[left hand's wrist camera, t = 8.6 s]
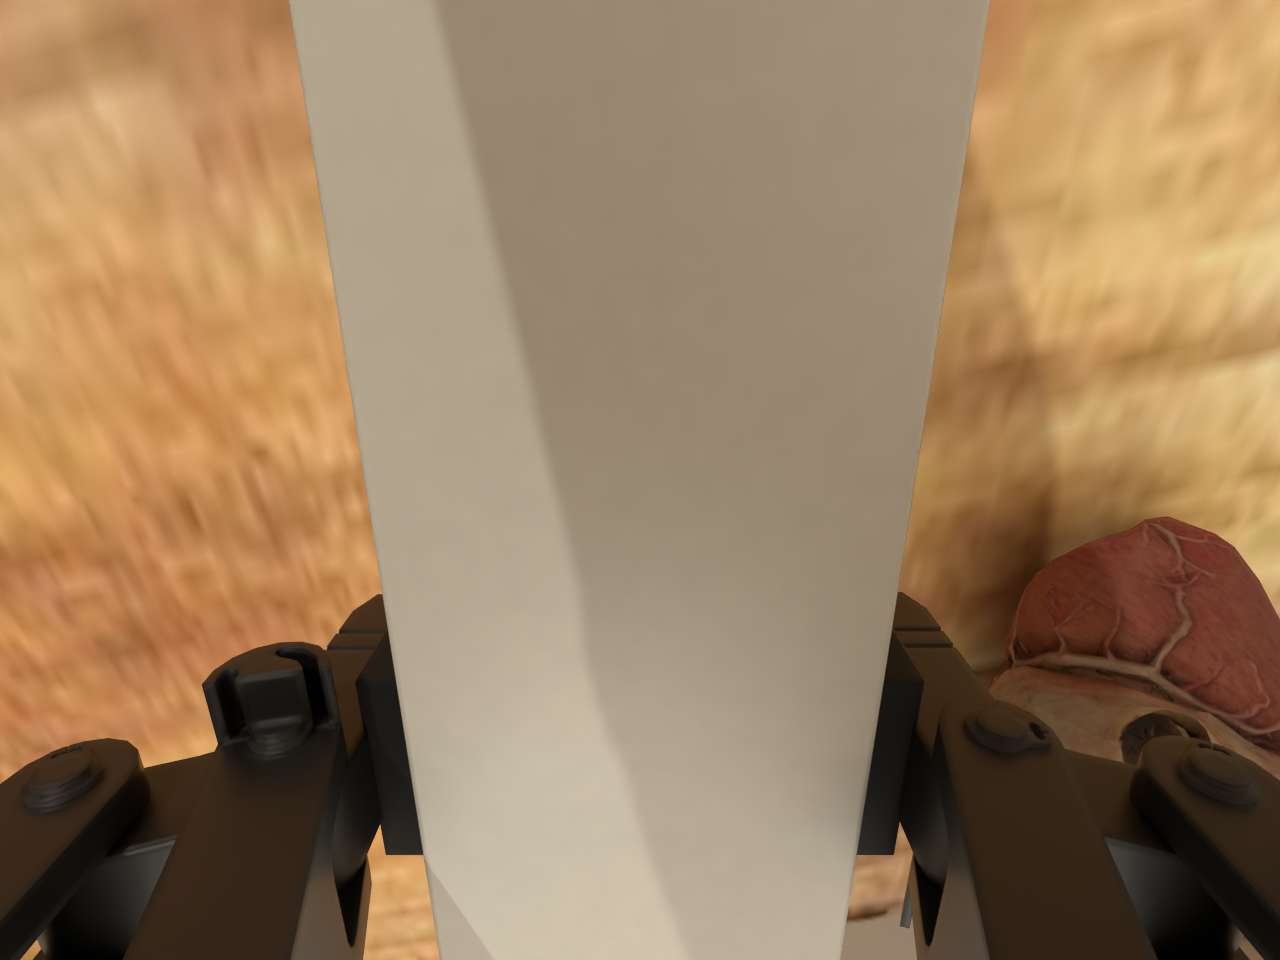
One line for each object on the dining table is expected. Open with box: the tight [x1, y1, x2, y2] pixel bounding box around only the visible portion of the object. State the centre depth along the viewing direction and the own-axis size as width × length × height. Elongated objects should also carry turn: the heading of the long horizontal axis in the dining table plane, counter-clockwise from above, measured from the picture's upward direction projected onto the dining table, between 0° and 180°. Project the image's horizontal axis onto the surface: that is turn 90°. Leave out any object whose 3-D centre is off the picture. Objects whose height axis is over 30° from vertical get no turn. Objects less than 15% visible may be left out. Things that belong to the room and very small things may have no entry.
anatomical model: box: [988, 517, 1280, 960], centre depth 21 cm, size 13×9×15 cm
